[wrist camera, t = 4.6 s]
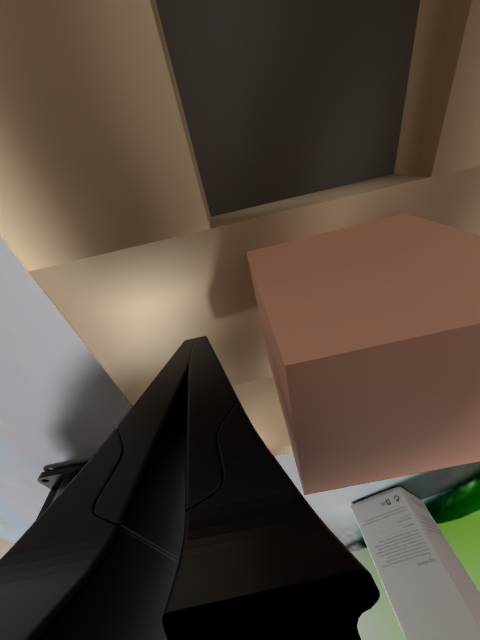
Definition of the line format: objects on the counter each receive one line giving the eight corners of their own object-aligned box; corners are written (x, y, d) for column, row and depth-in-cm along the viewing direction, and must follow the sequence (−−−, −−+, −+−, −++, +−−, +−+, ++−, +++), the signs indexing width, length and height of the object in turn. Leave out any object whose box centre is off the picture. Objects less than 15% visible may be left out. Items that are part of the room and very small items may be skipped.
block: (268, 361, 10) (304, 495, 6) (246, 252, 8) (284, 365, 3) (383, 335, 10) (497, 457, 6) (404, 213, 7) (652, 285, 3)
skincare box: (348, 503, 28) (463, 800, 15) (402, 482, 25) (592, 810, 13) (376, 516, 32) (487, 760, 19) (426, 499, 29) (589, 762, 17)
